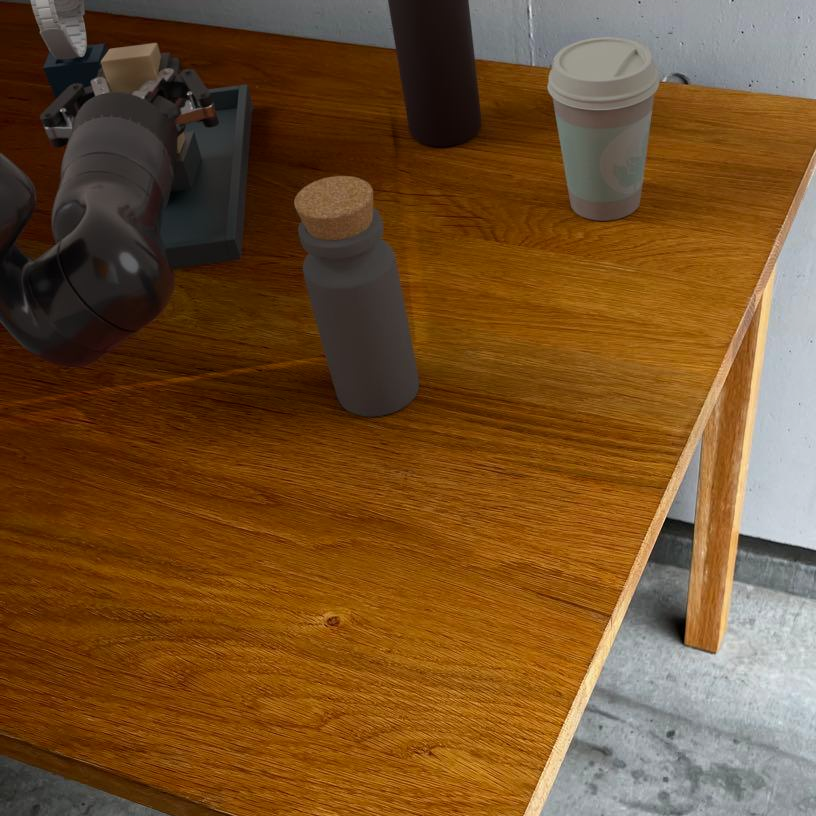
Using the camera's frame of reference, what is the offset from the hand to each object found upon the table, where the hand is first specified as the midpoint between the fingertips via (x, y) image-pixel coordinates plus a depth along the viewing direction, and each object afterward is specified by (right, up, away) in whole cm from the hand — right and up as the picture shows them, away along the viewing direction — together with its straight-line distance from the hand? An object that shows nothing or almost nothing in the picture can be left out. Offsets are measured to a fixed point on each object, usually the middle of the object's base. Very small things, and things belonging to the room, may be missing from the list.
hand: (142, 67), depth 90 cm
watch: (-13, +7, +19) cm, 24 cm away
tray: (+1, -9, +4) cm, 10 cm away
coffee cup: (+40, -12, -2) cm, 41 cm away
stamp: (+1, -8, +3) cm, 9 cm away
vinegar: (+25, -2, +8) cm, 27 cm away
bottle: (+23, -30, -16) cm, 41 cm away
